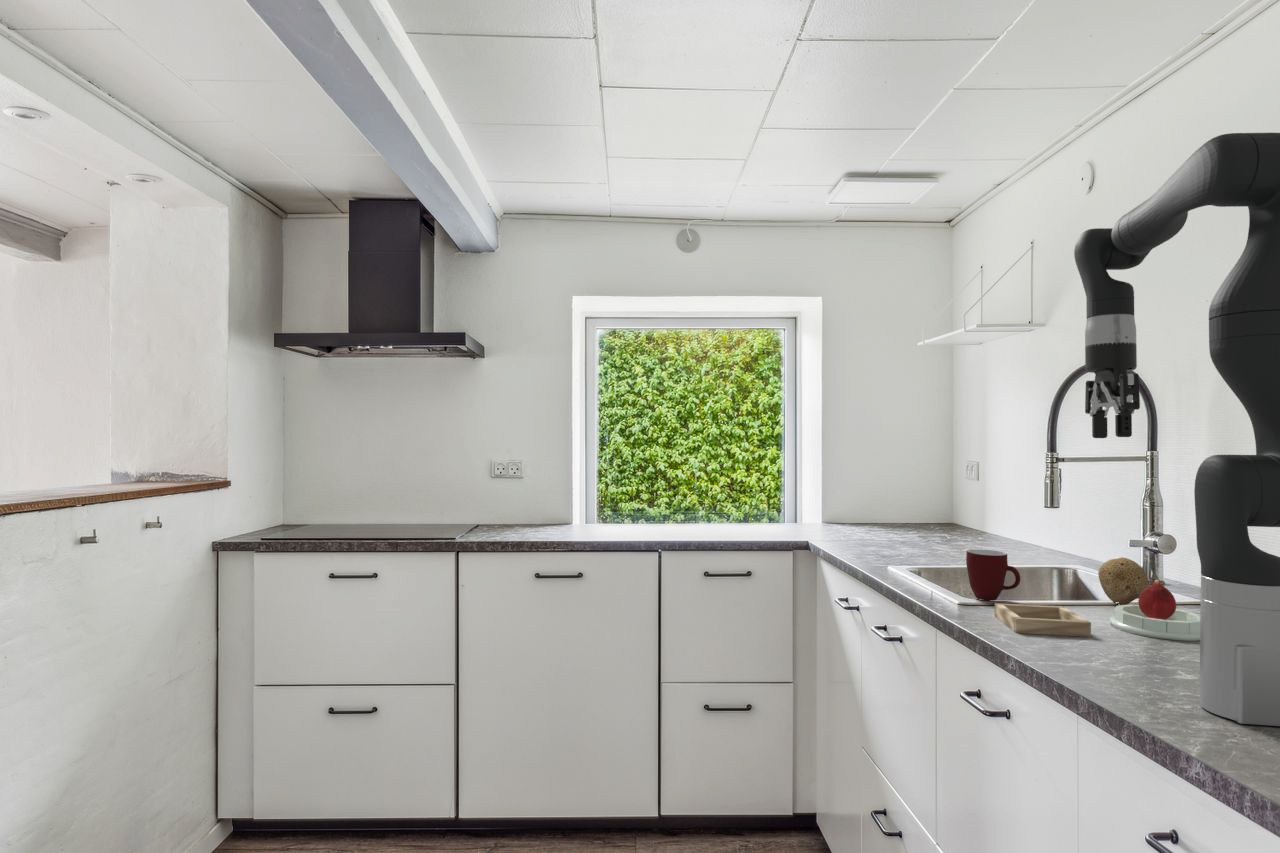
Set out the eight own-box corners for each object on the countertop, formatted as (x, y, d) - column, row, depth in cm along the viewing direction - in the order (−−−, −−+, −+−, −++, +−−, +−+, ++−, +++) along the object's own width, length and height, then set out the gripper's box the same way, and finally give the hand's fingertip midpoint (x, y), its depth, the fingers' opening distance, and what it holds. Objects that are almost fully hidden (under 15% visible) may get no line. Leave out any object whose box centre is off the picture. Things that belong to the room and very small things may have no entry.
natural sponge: (1140, 602, 161) (1141, 555, 161) (1156, 612, 153) (1157, 562, 153) (1092, 599, 164) (1093, 553, 164) (1106, 608, 155) (1106, 560, 155)
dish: (1228, 642, 130) (1228, 625, 130) (1133, 638, 133) (1134, 620, 133) (1180, 621, 145) (1180, 605, 145) (1096, 617, 147) (1096, 601, 147)
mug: (1018, 598, 164) (1019, 552, 164) (1021, 605, 156) (1021, 557, 156) (965, 593, 168) (966, 548, 168) (965, 600, 161) (966, 553, 161)
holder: (1090, 636, 133) (1090, 622, 133) (1015, 632, 135) (1016, 618, 135) (1062, 619, 145) (1062, 606, 145) (994, 615, 147) (994, 603, 147)
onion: (1181, 628, 136) (1183, 584, 136) (1146, 626, 137) (1147, 582, 137) (1166, 620, 141) (1167, 578, 141) (1132, 618, 143) (1133, 575, 142)
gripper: (1156, 337, 122) (1157, 437, 122) (1114, 349, 136) (1114, 438, 136) (1106, 337, 123) (1107, 436, 123) (1069, 349, 138) (1070, 438, 137)
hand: (1111, 437), depth 129 cm, fingers open, 8 cm apart
